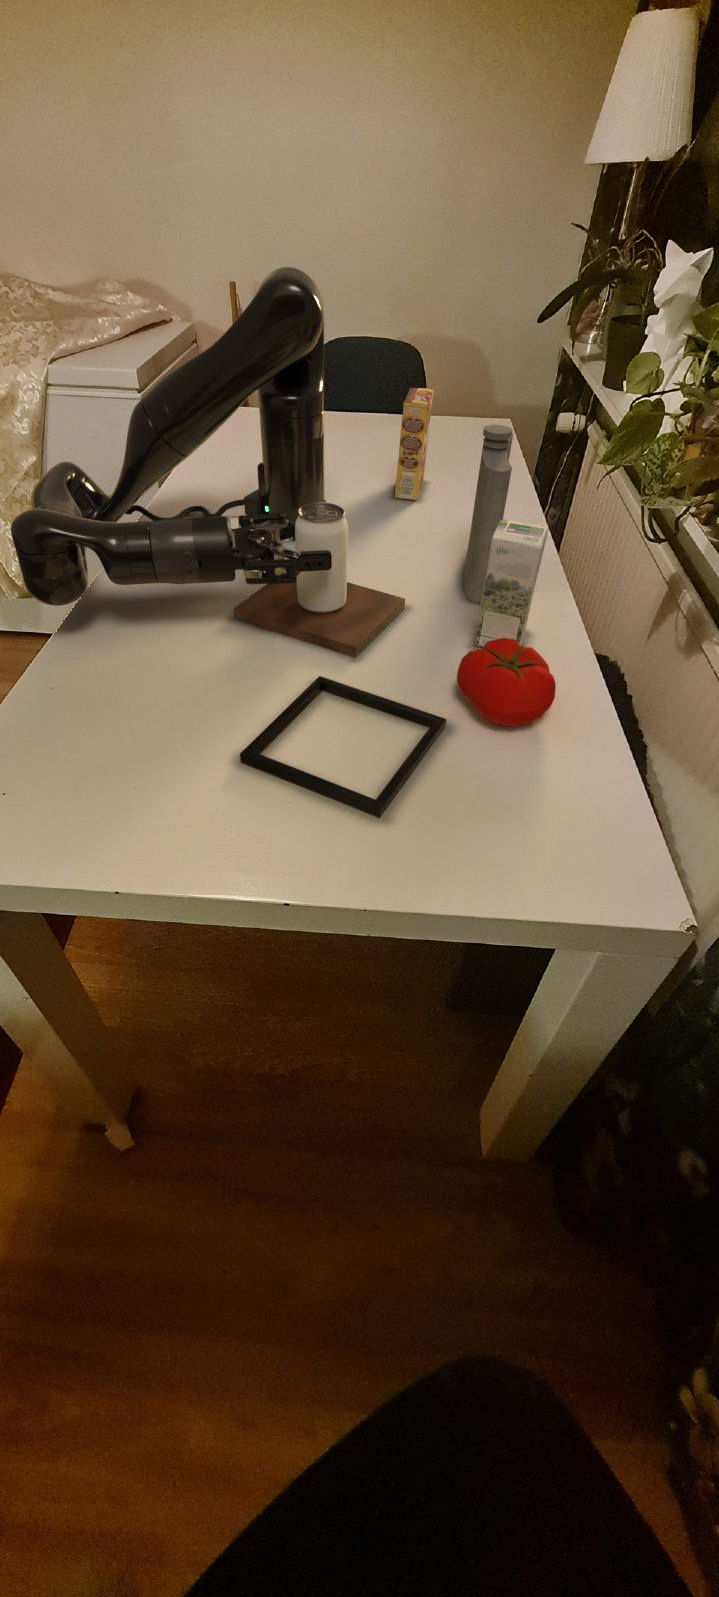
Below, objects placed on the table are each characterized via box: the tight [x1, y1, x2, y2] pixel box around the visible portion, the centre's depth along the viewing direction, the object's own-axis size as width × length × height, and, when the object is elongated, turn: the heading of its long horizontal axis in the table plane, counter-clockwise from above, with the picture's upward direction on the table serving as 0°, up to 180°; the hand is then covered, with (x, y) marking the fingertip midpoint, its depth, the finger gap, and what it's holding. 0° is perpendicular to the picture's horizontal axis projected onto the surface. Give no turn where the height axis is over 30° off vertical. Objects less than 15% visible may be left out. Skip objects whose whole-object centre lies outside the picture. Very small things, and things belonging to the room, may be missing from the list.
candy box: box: [394, 387, 434, 501], centre depth 120 cm, size 9×4×15 cm, turn 169°
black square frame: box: [239, 675, 447, 819], centre depth 74 cm, size 16×16×1 cm
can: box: [294, 502, 349, 613], centre depth 89 cm, size 6×6×12 cm
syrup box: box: [474, 518, 549, 648], centre depth 86 cm, size 6×6×14 cm
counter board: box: [233, 572, 406, 658], centre depth 94 cm, size 18×14×2 cm
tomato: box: [456, 638, 557, 727], centre depth 78 cm, size 10×11×6 cm
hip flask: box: [463, 424, 514, 604], centre depth 96 cm, size 16×4×20 cm, turn 170°
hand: (326, 544), depth 87 cm, fingers open, 8 cm apart
